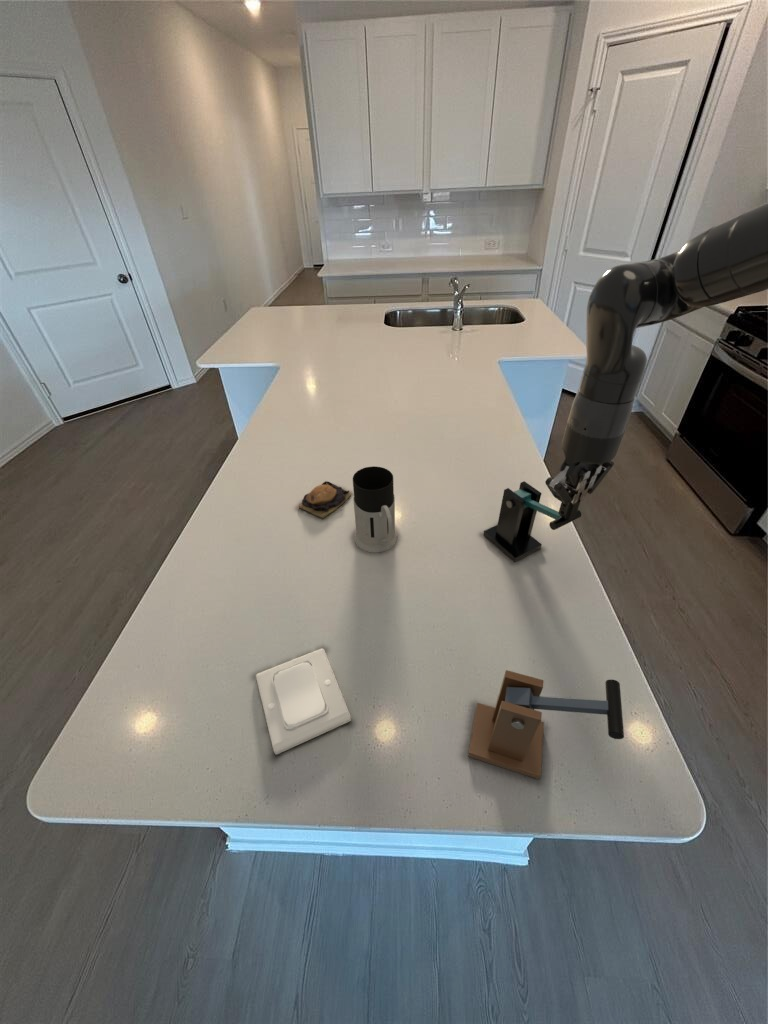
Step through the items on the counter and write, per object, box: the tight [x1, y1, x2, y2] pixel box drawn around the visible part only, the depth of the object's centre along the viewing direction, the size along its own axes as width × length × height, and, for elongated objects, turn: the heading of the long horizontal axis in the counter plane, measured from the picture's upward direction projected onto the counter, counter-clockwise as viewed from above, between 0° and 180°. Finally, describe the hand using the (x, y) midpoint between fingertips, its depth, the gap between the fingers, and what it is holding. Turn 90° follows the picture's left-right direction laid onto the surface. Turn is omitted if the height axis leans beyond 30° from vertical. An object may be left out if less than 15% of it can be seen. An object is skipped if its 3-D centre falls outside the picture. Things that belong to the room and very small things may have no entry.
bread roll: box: [298, 480, 352, 519], centre depth 98 cm, size 11×8×4 cm
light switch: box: [255, 648, 352, 755], centre depth 63 cm, size 11×4×13 cm
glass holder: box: [352, 466, 398, 554], centre depth 83 cm, size 9×14×15 cm, turn 18°
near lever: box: [505, 679, 625, 740], centre depth 50 cm, size 12×6×2 cm, turn 71°
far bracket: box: [482, 481, 543, 563], centre depth 84 cm, size 9×7×13 cm
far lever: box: [513, 488, 582, 531], centre depth 77 cm, size 12×6×2 cm, turn 31°
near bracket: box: [467, 669, 544, 780], centre depth 55 cm, size 9×7×13 cm
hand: (566, 516), depth 73 cm, fingers closed
